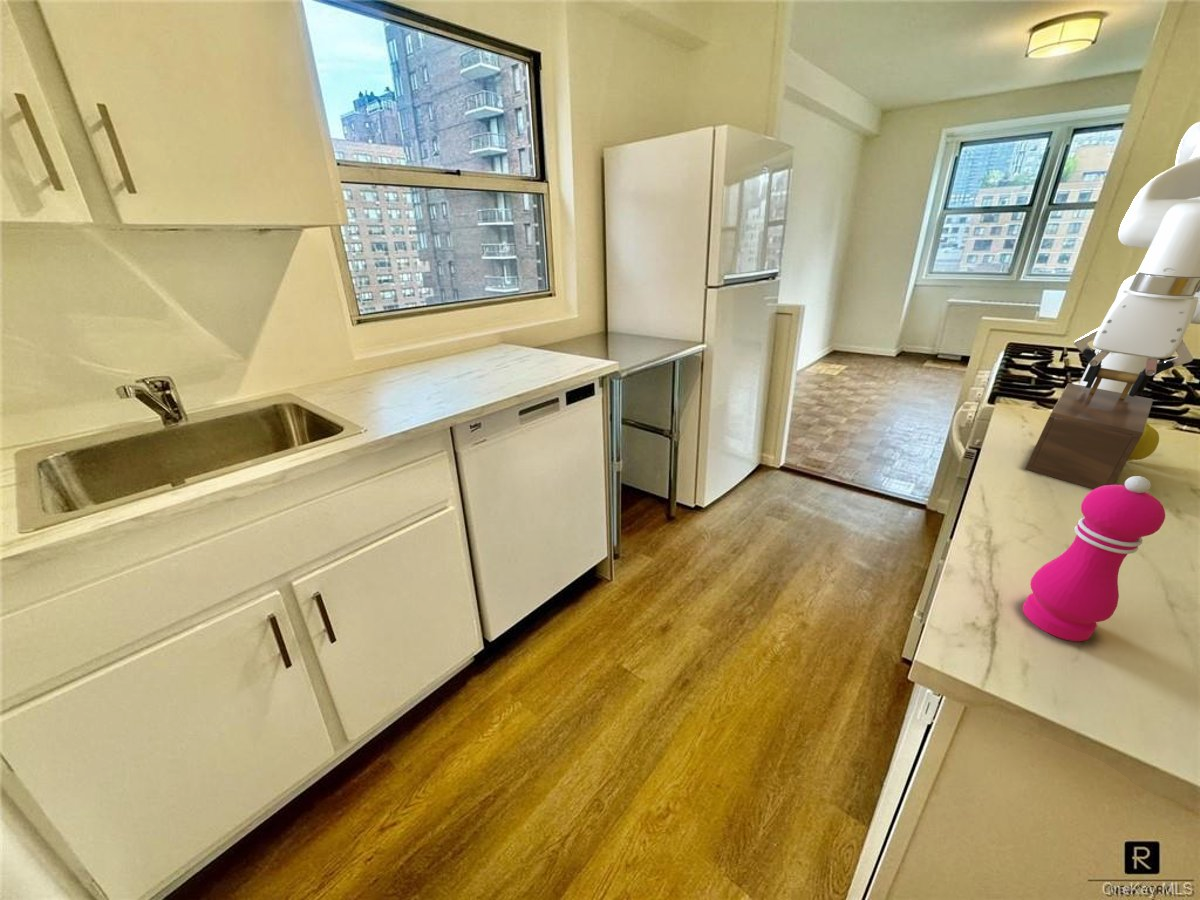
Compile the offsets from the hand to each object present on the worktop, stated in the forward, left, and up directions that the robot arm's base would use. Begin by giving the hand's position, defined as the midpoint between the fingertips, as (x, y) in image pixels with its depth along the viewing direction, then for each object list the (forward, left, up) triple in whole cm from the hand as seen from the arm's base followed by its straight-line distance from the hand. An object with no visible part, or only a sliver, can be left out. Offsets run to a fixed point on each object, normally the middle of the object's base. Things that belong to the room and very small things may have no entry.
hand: (1110, 389), depth 87 cm
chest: (+3, -3, -15) cm, 15 cm away
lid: (+3, -3, -3) cm, 5 cm away
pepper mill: (+43, -35, -15) cm, 58 cm away
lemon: (-1, +10, -15) cm, 18 cm away
